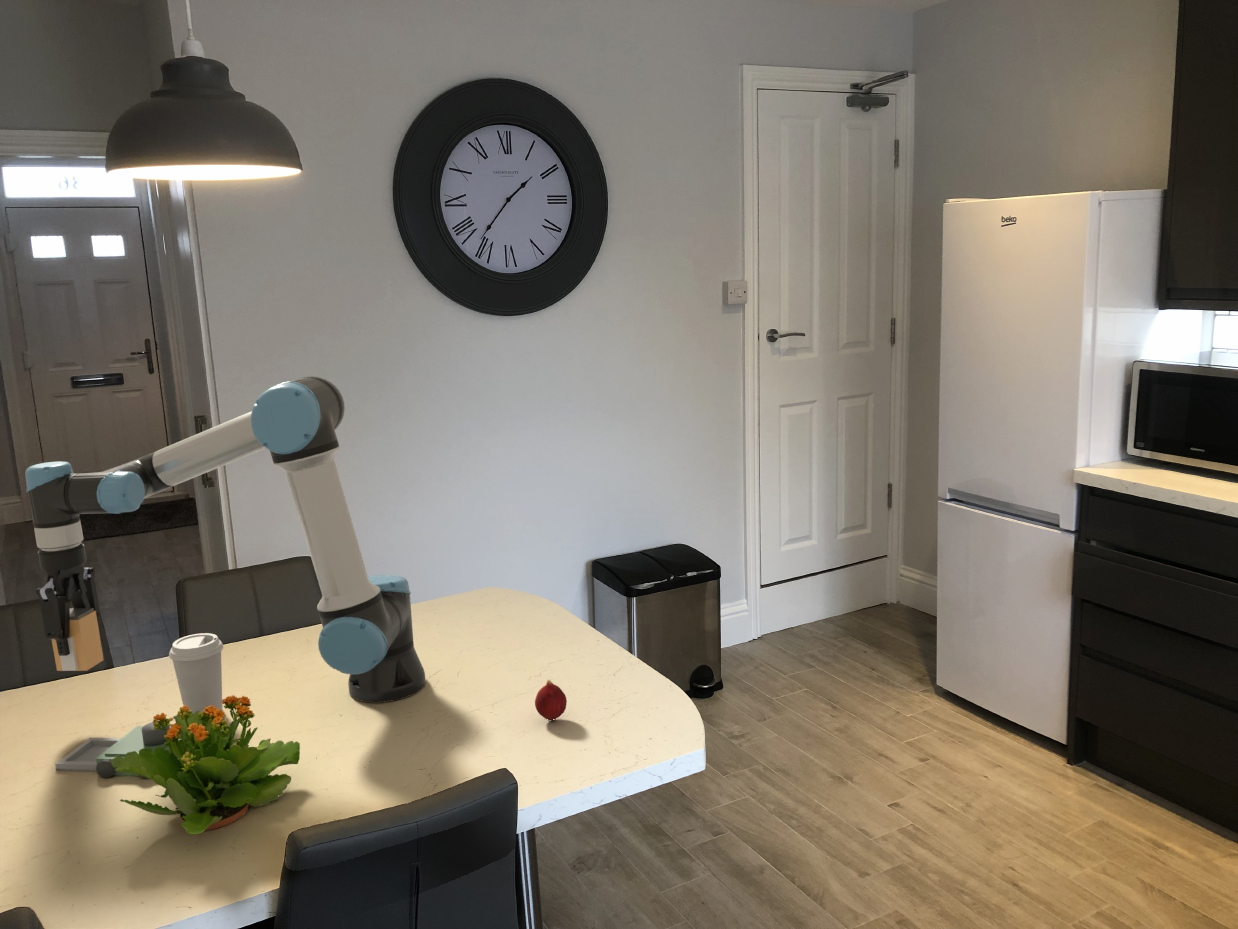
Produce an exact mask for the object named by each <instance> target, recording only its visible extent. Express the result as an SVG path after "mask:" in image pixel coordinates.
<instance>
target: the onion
mask: <svg viewBox="0 0 1238 929" xmlns="http://www.w3.org/2000/svg"><path fill="white" fill-rule="evenodd" d="M567 702H568V701H567V695H566V694H565V693H564V691H563V690H562V688H560V686H558V685H557V684H554V683H553V682H552V681H551V679H547V680H546V684H545V685H544V686H542V687H541V688H540V689H539V690H538V692H537V693H536V697H535V699H534V706H535V710H536V711H537V713H538V715H540V716H541V717H542V718H544V720H545V719H546V720H547V719H548V720H547V721H549V720H553V719H555V720H556V718H557V719H559V718H560V717H561V716H562V715H563V714H564V713H565V711H566V709H567Z"/></svg>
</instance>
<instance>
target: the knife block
mask: <svg viewBox="0 0 1238 929" xmlns="http://www.w3.org/2000/svg"><path fill="white" fill-rule="evenodd" d="M97 619H98V617H97V616H96V611H94V608H74V607H72V608H71V607H70V627H69V636H73V639H74V645H75V651H76V657H77V663H78V670H76V671H77V672H82V671H85V672H87V671H89V670H90V669H92V668H94V667H96V666H97V665H98V664H100V663H101V662H103V661H104V654H103V648H102V642H101V635H100V629H99V622H97ZM62 632H63V631H62ZM51 644H52V650H53V654H54V655H53V656H54V661H55V667H56V671H58V672H63V671H62V665H61V660H60V656H59V654H58V648H57V643H56V640H55V639H51Z"/></svg>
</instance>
